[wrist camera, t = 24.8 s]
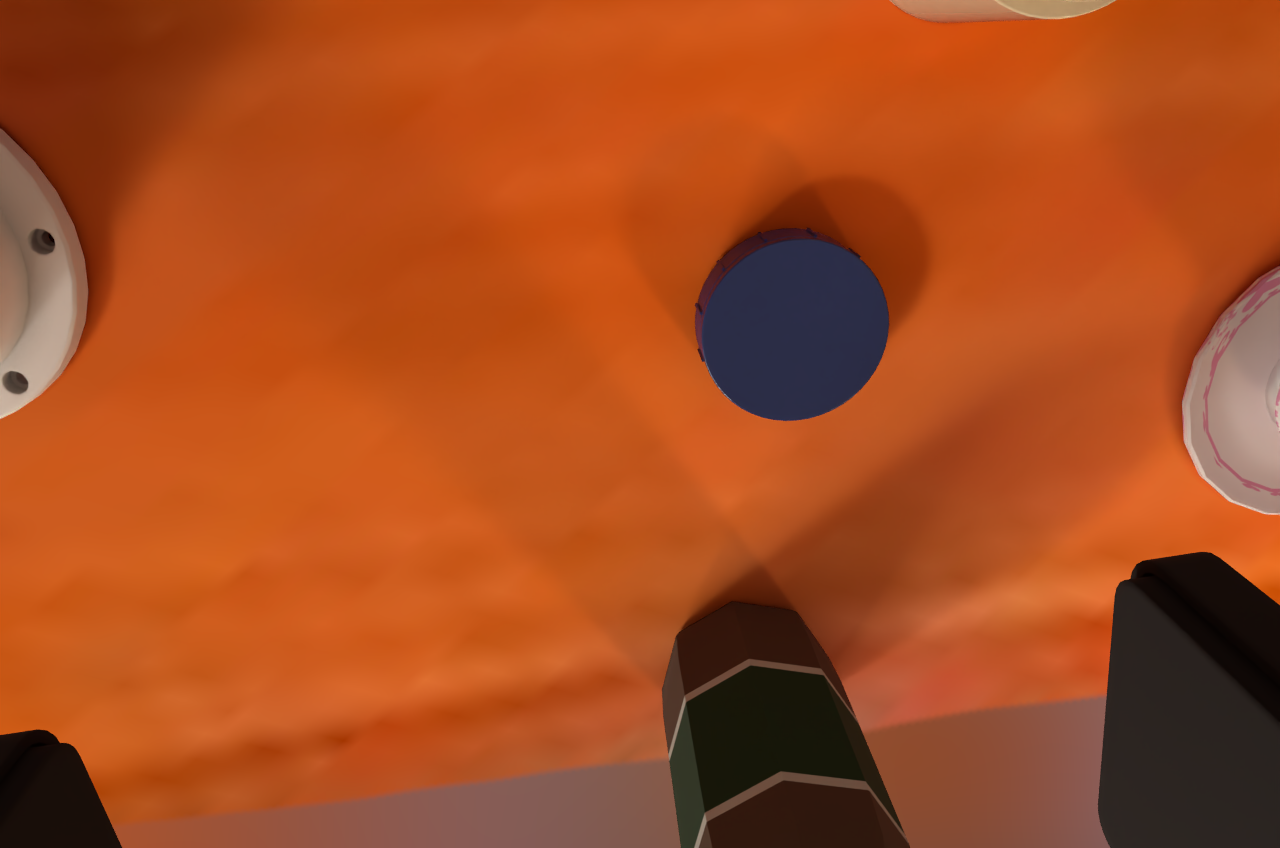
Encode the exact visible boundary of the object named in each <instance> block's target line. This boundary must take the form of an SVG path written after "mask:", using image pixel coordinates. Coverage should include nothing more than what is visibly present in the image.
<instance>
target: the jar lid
mask: <svg viewBox="0 0 1280 848" xmlns="http://www.w3.org/2000/svg"><path fill="white" fill-rule="evenodd" d="M860 257H861V256H860V255H858V254H857V253H856V252H854V251H853V250H852V249H850V248H849V249H847V248H846V247H844V246H843V245H842V244H841V243H839V242H837V241H836V240H834V239H832V238H831V237H829V236H826V235H824V234H821V233H819V232H815V231H812V230H811V229H810V228H807V229H797V228H788V229H778V230H771V231H768V232H764V233H761V232H758V235H756V236H753V237H751V238H749V239H747V240H745V241H744V242H742V243H740V244H739V245H737V246H736V247H734V248H733V249H732V250H731V251H729V252H728V253H727V254H726V255H725V256H724V257H723V258H722V259H721V260H720V261H719V260H718V261H717V265H716V266H715V267H714V268H713V270H712V271H711V273H710V274H709V276H708V278H707V279H706V281H705V283H704V285H703V288H702V290H701V292H700V296H699V299H698V303H695V307H696V315H695V329H696V337H697V341H698V345H699V349H698V352H699V355H700V357H701V360H702V362H704V361H705V364H706V366H707V368H708V371H709V373H710V375H711V377H712V379H713V380H714V382H715V384H716V385H717V387H718V388H719V389H720V390H721V392H722V393H723V394H724V395H725V396H726V397H727V398H728V399H729V400H731V401H732V402H733V403H734V404H736V405H737V406H739V407H740V408H742V409H744V410H746V411H748V412H750V413H752V414H754V415H757V416H760V417H763V418H768V419H772V420H783V421H791V420H802V419H808V418H812V417H816V416H819V415H822V414H824V413H827V412H829V411H831V410H833V409H835V408H837V407H839V406H840V405H842V404H844V403H845V402H846V401H848V400H849V399H850V398H852V397H853V396H854V395H855V394H856V393H857V392H858V391H859V390H861V388H862V387H863V386H864V385H865V384H866V383H867V382H868V380H869V379H870V378H871V376H872V375H873V373H874V372H875V370H876V368H877V366H878V364H879V362H880V360H881V358H882V355H883V353H884V350H885V347H886V342H887V338H888V330H889V312H888V307H887V301H886V298H885V295H884V292H883V289H882V287H881V285H880V283H879V281H878V279H877V278H876V276H875V275H874V273H873V272H872V271H871V269H870V268H869V267H868V266H867V265H866V264H865V263H864V262H863V261H862V260H861V259H860Z"/></svg>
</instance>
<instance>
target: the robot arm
mask: <svg viewBox="0 0 1280 848" xmlns="http://www.w3.org/2000/svg"><path fill="white" fill-rule="evenodd" d="M48 232H49V233H50V234H51V235H52V237H53V238H54V240H55V243H54V242H52V241H51V240H50V239H49V237H48ZM87 302H88V283H87V274H86V266H85V258H84V255H83V252H82V248H81V245H80V242H79V239H78V236H77V233H76V229H75V226H74V224H73V222H72V220H71V218H70V216H69V214H68V212H67V210H66V208H65V206H64V205H63V203H62V201H61V199H60V197H59V195H58V193H57V191H56V190H55V188H54V187H53V186H52V184H51V183H50V182H49V180H48V179H47V178H46V176H45V175H44V174H43V172H42V171H41V170H40V168H39V167H38V166H37V164H36V163H35V162H34V160H33V159H32V158H31V157H30V156H29V155H28V154H27V153H26V152H25V151H24V150H23V149H22V148H21V147H20V146H19V145H18V144H17V143H16V142H15V141H14V140H12V139H11V138H10V137H9V136H8V135H7V134H6V133H5V132H4V131H3V130H2V129H1V128H0V419H1V418H3V417H5V416H7V415H9V414H11V413H14V412H16V411H18V410H19V409H21V408H22V407H23V406H25V405H26V404H28V403H29V402H31V401H32V400H34V399H35V398H37V397H38V396H40V395H41V394H42V393H43V392H44V391H45V390H46V389H47V388H48V387H49V386H50V385H51V384H52V383H53V382H54V381H55V380H56V379H57V378H58V377H59V376H60V375H61V374H62V372H63V371H64V369H65V368H66V366H67V364H68V363H69V361H70V360H71V358H72V356H73V355H74V353H75V352H76V350H77V347H78V344H79V341H80V338H81V335H82V332H83V328H84V325H85V322H86V312H87ZM23 375H24V376H25V377H24V376H23ZM1098 813H1099V818H1100V823H1101V826H1102V830H1103V833H1104V835H1105V837H1106V840H1107V842H1108V844H1109V845H1110V847H1111V848H1280V605H1279V604H1277V603H1276V602H1275V601H1273V600H1272V599H1271V598H1270V597H1268V596H1267V595H1266V594H1265V593H1263V592H1262V591H1261V590H1260V589H1258V588H1257V587H1256V586H1255V585H1253V584H1252V583H1251V582H1250V581H1248V580H1247V579H1246V578H1245V577H1243V576H1242V575H1241V574H1239V573H1238V572H1237V571H1236V570H1234V569H1233V568H1232V567H1231V566H1229V565H1228V564H1227V563H1226V562H1224V561H1223V560H1222V559H1221V558H1219V557H1217V556H1215V555H1214V554H1212V553H1208V552H1197V553H1190V554H1184V555H1177V556H1171V557H1164V558H1158V559H1151V560H1145V561H1142V562H1140V563H1138V564H1137V565H1136V566H1135V568H1134V569H1133V571H1132V574H1131V579H1129V580H1124V581H1122V582H1120V583H1119V585H1118V587H1117V588H1116V593H1115V601H1114V613H1113V625H1112V638H1111V650H1110V662H1109V675H1108V687H1107V700H1106V712H1105V725H1104V738H1103V750H1102V762H1101V775H1100V786H1099V799H1098ZM0 848H122V847H121V845H120V842H119V840H118V838H117V836H116V833H115V831H114V829H113V827H112V825H111V823H110V820H109V818H108V816H107V814H106V812H105V809H104V807H103V805H102V803H101V801H100V799H99V796H98V794H97V792H96V790H95V788H94V785H93V783H92V781H91V779H90V777H89V775H88V772H87V770H86V768H85V766H84V764H83V761H82V759H81V757H80V755H79V753H78V752H77V750H76V749H75V748H74V747H73V746H71V745H70V744H67V743H60V742H59V741H58V739H57V738H56V736H54V735H53V734H51V733H50V732H48V731H46V730H31V731H25V732H18V733H12V734H5V735H0Z"/></svg>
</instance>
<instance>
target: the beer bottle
mask: <svg viewBox="0 0 1280 848" xmlns="http://www.w3.org/2000/svg"><path fill="white" fill-rule="evenodd" d="M662 698H663V717H664V725H665V732H666V740H667V747H668V754H669V762H670V769H671V777H672V784H673V790H674V799H675V806H676V814H677V821H678V828H679V835H680V843H681V848H910V846H909V843H908V841H907V838H906V836H905V834H904V831H903V829H902V827H901V824H900V822H899V819H898V817H897V815H896V812H895V810H894V807H893V805H892V802H891V800H890V798H889V796H888V793H887V790H886V788H885V786H884V784H883V781H882V778H881V776H880V774H879V771H878V769H877V766H876V764H875V762H874V759H873V757H872V754H871V752H870V750H869V747H868V745H867V742H866V740H865V738H864V735H863V733H862V730H861V728H860V726H859V723H858V721H857V719H856V716H855V714H854V711H853V709H852V707H851V704H850V702H849V699H848V697H847V695H846V692H845V690H844V687H843V685H842V683H841V680H840V678H839V677H838V675H837V673H836V671H835V669H834V667H833V665H832V663H831V661H830V659H829V657H828V656H827V654H826V653H825V651H824V650H823V649H822V647H821V646H820V644H819V643H818V642H817V640H816V639H815V637H814V636H813V634H812V633H811V632H810V630H809V629H808V627H807V626H806V625H805V623H804V622H803V620H802V619H801V617H800V616H799V615H798V613H797V612H795V611H793V610H787V609H780V608H773V607H766V606H759V605H752V604H745V603H738V602H730V603H729V604H727V605H725V606H724V607H722V608H720V609H718V610H717V611H715V612H713V613H712V614H710V615H708V616H706V617H705V618H703V619H701V620H700V621H698V622H696V623H694V624H693V625H691V626H689V627H688V628H686V629H684V630H683V631H681V632H679V633H678V634H677V636H676V639H675V643H674V646H673V650H672V654H671V658H670V662H669V665H668V669H667V673H666V677H665V681H664V684H663V688H662Z"/></svg>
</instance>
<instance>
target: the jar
mask: <svg viewBox="0 0 1280 848" xmlns="http://www.w3.org/2000/svg"><path fill="white" fill-rule="evenodd" d="M890 1H891V2H892V3H893V4H894V5H896V6H897V7H898V8H900V9H901V10H903V11H904V12H906V13H908V14H910V15H912V16H914V17H916V18H919V19H923V20H926V21H931V22H937V23H962V22H991V21H1019V20H1048V19H1064V18H1071V17H1077V16H1080V15H1084V14H1087V13H1091V12H1093V11H1096V10H1098V9H1100V8H1103V7H1105V6H1107V5H1109V4H1111V3H1112V2H1114V1H1116V0H890Z"/></svg>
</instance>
